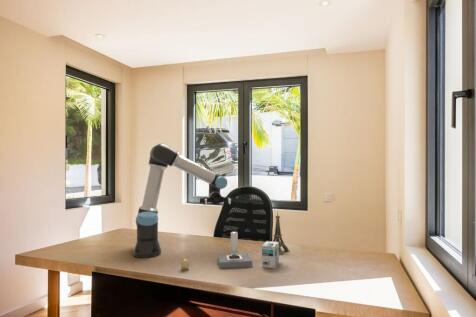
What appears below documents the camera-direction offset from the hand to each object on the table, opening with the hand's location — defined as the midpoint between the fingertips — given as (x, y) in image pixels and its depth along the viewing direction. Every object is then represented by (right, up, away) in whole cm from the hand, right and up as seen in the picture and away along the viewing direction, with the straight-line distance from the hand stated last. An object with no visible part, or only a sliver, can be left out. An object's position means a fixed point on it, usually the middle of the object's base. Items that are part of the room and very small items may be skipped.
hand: (218, 201), depth 178 cm
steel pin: (+9, -30, -15) cm, 35 cm away
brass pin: (-15, -30, -25) cm, 41 cm away
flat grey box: (+9, -30, -15) cm, 35 cm away
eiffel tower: (+35, -30, +6) cm, 46 cm away
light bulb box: (+28, -30, -18) cm, 44 cm away
